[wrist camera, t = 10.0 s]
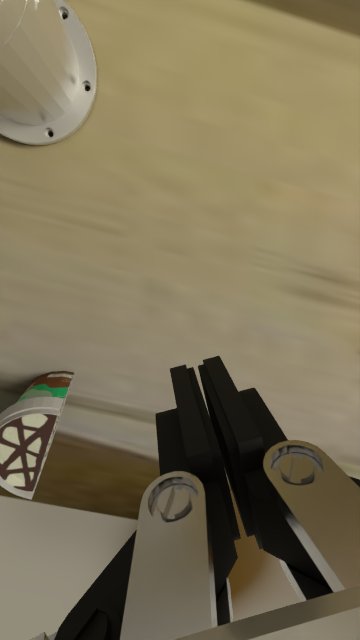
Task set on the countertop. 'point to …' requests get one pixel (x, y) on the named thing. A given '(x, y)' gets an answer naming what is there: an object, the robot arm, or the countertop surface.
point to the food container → (31, 432)
